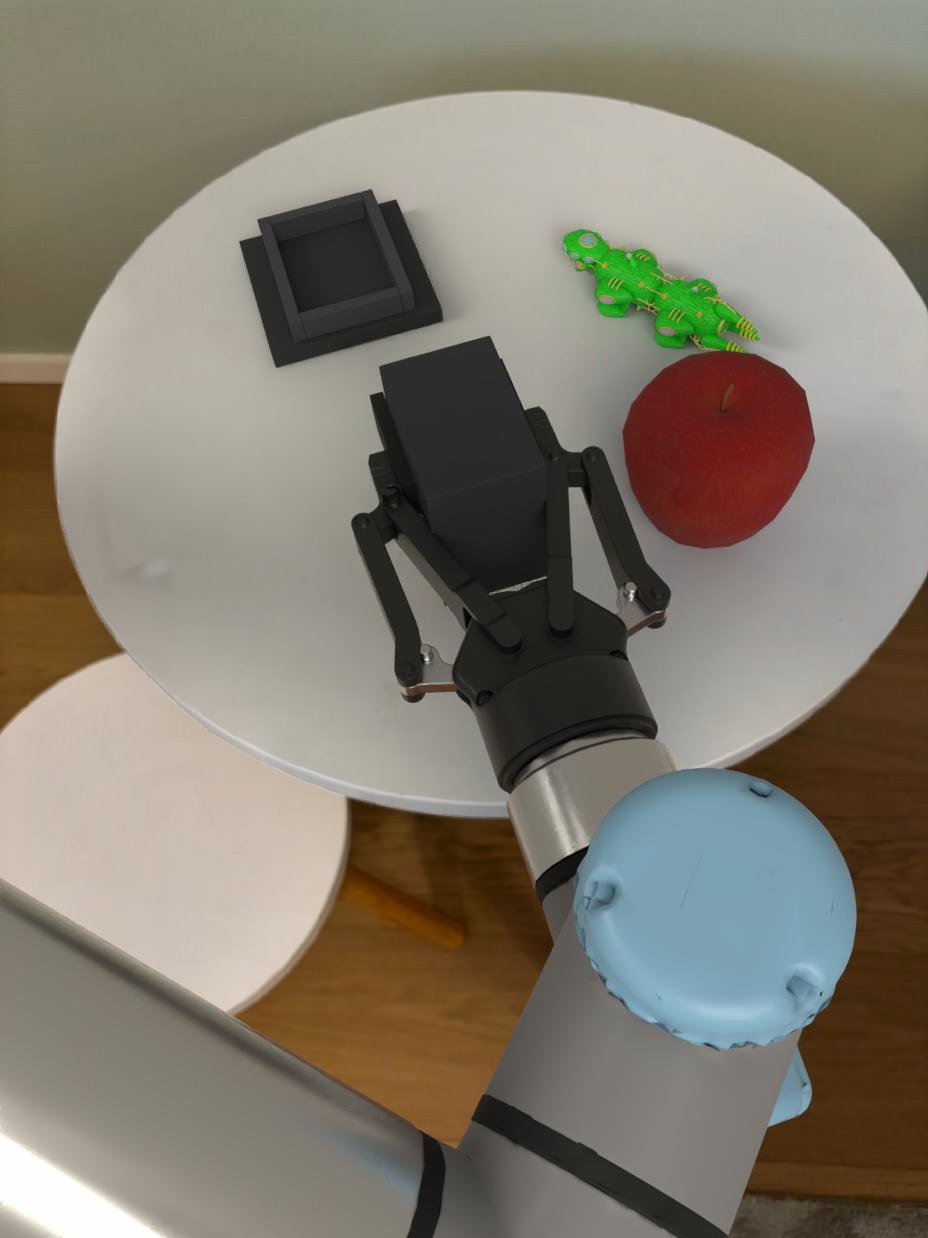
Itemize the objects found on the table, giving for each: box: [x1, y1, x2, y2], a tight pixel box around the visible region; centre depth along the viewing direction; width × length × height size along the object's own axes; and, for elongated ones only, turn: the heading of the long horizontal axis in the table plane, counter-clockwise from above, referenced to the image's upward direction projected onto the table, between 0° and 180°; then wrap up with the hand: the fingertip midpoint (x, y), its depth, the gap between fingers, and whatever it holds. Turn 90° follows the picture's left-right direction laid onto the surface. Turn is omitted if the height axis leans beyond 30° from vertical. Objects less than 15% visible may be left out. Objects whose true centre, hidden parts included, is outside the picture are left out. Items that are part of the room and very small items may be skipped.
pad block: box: [378, 335, 547, 607], centre depth 55 cm, size 6×9×10 cm, turn 17°
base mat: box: [239, 188, 444, 368], centre depth 85 cm, size 14×14×4 cm
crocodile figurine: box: [561, 228, 761, 353], centre depth 81 cm, size 7×18×4 cm, turn 49°
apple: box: [621, 350, 816, 549], centre depth 67 cm, size 12×12×13 cm
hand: (438, 394), depth 57 cm, fingers closed on pad block, 6 cm apart
